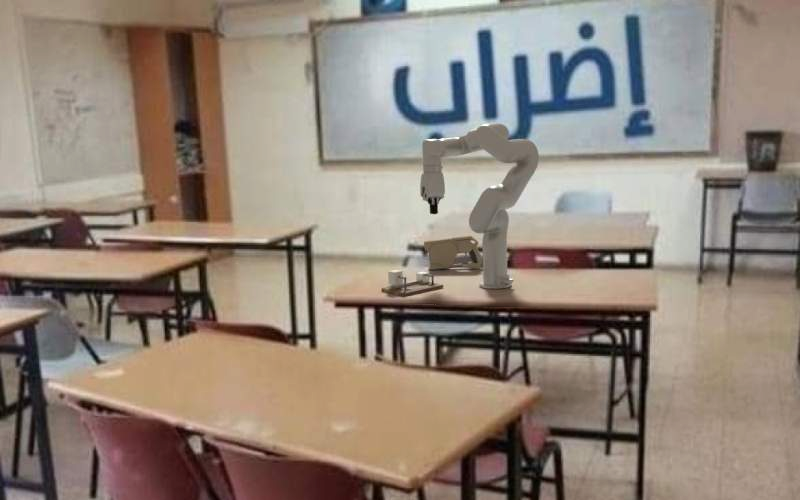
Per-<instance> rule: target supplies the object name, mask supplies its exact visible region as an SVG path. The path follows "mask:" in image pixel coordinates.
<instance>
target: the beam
mask: <svg viewBox="0 0 800 500" xmlns="http://www.w3.org/2000/svg"><path fill="white" fill-rule="evenodd" d="M415 273H416V274H415V275H416V276H415V277H416V278H415V279H416V280H410V281H406V286H410V285H415V284H420V283H422V284H424V283H428V282H432V284H434V283H435V281H434V277H435V275H434V274H433V275H432V274H430V272H425V271H420V272H415ZM430 279H431V280H430ZM387 287H388V289H390V290H391V289H396V288H401V287H404V282H403V284H400V285H388V286H387Z"/></svg>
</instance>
